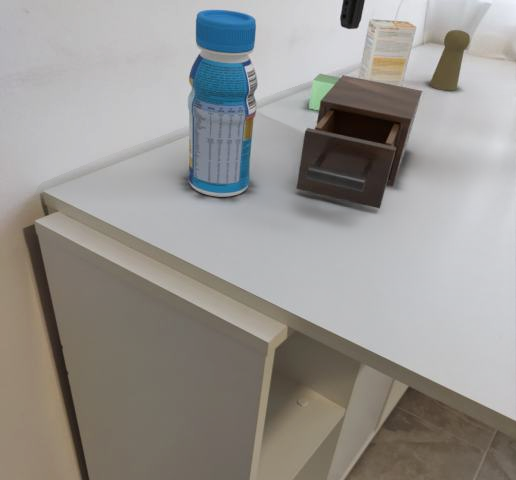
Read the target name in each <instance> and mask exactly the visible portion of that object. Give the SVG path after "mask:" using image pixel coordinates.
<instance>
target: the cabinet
mask: <svg viewBox="0 0 516 480" xmlns="http://www.w3.org/2000/svg"><path fill="white" fill-rule="evenodd" d="M422 93H423V90H421V89H415V88H412V87H411V88H410V87H407V86H402V87H401V86H396V85H390V84H385V83H380V82H375V81H370V80H365V79H360V78H358V77H354V76H349V75H344V74H343V75H341V76H340V79H339V80H338V81H337V82H336V83H335V85H334V86H333V87H332V88H331V89H330V90H329V92H328V93H327V94H326V95H325V96H324V97H323V99H322V100H321V102H320V108H319V111H318V114H317V119H316V125H317V124H318V123H319V122H320V121H321V119H322V118H323V117H324V116H325V114H326V113H327V112H328V110H329V109H330V108H331V109H336V110H341V111H345V112H350V113H355V114H360V115H365V116H370V117H374V118H379V119H384V120H389V121H394V122H399V123H401V127H400V130H399V134H398V138H397V142H396V145H395V147H396V151H395V154H394V158H393V162H392V166H391V169H390V173H389V177H388V180H387V184H386V186H390V187H394V186H395V185H394V184H395V181H396V179H397V176H398V173H399V170H400V167H401V165H402V162H403V159H404V157H405V154H406V151H407V150H406V149H407V146H408V143H409V139H410V136H411V132H412V129H413V125H414V122H415V118H416V114H417V111H418V108H419V103H420V101H421V96H422Z"/></svg>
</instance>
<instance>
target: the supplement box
mask: <svg viewBox="0 0 516 480" xmlns="http://www.w3.org/2000/svg"><path fill="white" fill-rule="evenodd" d="M416 31H417V26H416V25H414V24H413V23H412V22H409V21H404V20H391V19H390V20H388V19H374V18H373V19H372V18H370V19H369V20H368V25H367V30H366V35H365V41H364V46H363V52H362V56H361V62H360V67H359V71H358V77H357V78H360V79H365V80H370V81H375V82H380V83H385V84H390V85H396V86H401V87H403V84H404V80H405V75H406V72H407V68H408V63H409V60H410V55H411V50H412V48H413V44H414V39H415V34H416Z"/></svg>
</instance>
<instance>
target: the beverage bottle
mask: <svg viewBox="0 0 516 480" xmlns="http://www.w3.org/2000/svg"><path fill="white" fill-rule="evenodd" d="M256 21H257V20H256V18H254V16H252V15H250V14H247V13H245V12H244V13H243V12H239V11H236V10H235V11H234V10H226V9H207V10H201V11H199V12H197V14H196V19H195V44H196V47H197V49H199V50H200V52H199V54H198V55H197V57H196V58H195V60H194V62H193V64H192V66H191V69H190V72H189V76H188V82H189V84H190V87H191V90H190V92H189V95H188V96H187V97H188V98H187V109H188V146H189V147H188V148H189V149H188V164H189V165H188V183H189V186H191V188H193V189H194V190H195V191H197V192H199V193H201V194H204V195H207V196H211V197H218V198H219V197H220V198H224V197H226V198H227V197H228V198H229V197H234V196H238V195H240V194H242V193H244V192H245V191H246V190H247V189H248V187H249V184H250V166H251V165H250V162H251V153H252V152H251V151H252V141H253V140H252V139H253V130H254V129H253V128H254V119H255V117H256V114H257V107H258V106H257V100H256V97H255V92H256V90H257V88H258V77H257V73H256V70H255V67H254V65H253V62H252V60H251V58H250V57H249V56H250V54H252V53H253V52H254V48H255V44H256V30H257V25H256V24H257V23H256Z"/></svg>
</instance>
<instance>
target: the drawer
mask: <svg viewBox="0 0 516 480" xmlns="http://www.w3.org/2000/svg"><path fill="white" fill-rule="evenodd" d="M400 127H401V123H399V122H394V121H389V120H384V119H379V118H374V117H370V116H365V115H360V114H355V113H350V112H345V111H341V110H336V109H331V108H330V109H329V110H328V112H327V113H326V114H325V116H324V117H323V118H322V119H321V121H320V122H319V123H318V124H317V123H316V126H315V127H314V128H310V127H307V128H306V129H305V131H304V136H303V137H304V138H303V144H302V150H301V156H300V162H299V169H298V177H297V184H296V190H299V191H304V192H307V193H312V194H317V195H320V196H325V197H329V198H334V199H338V200H340V201H341V200H342V201H345V202H350V203H354V204H358V205H362V206H363V205H364V206H367V207H370V208H371V207H372V208H376V209H380V208H381V206H382V203H383V200H384V199H383V198H384V196H385V195H384V194H385V191H386V187H387V185H386V184H387V180H388V177H389V173H390V169H391V166H392V162H393V158H394V154H395V151H396V147H395V145H396V142H397V138H398V134H399V130H400Z"/></svg>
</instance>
